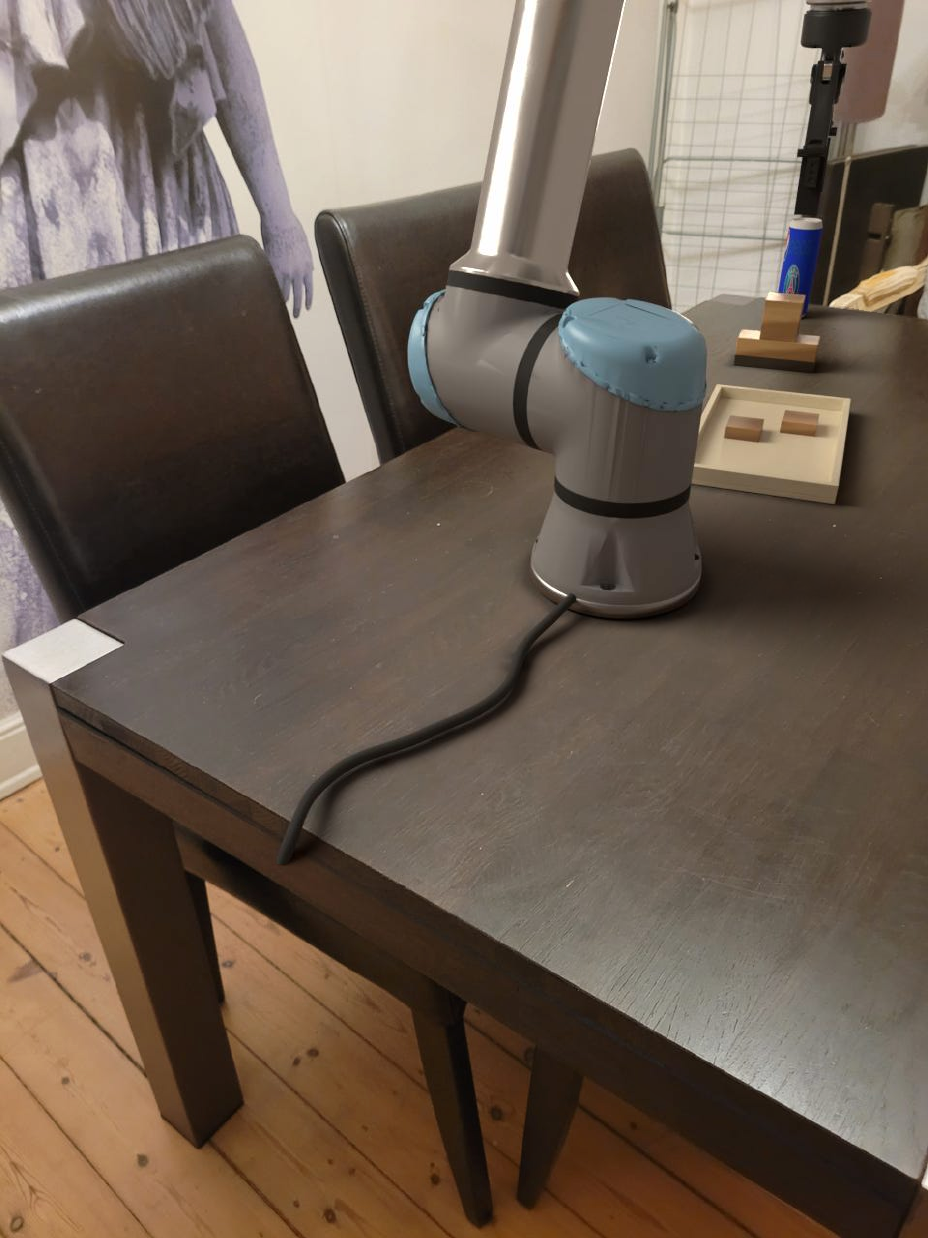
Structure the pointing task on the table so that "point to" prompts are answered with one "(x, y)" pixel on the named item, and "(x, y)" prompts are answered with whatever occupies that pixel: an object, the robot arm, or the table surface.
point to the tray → (772, 445)
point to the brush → (778, 338)
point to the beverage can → (800, 258)
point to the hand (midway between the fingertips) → (808, 202)
